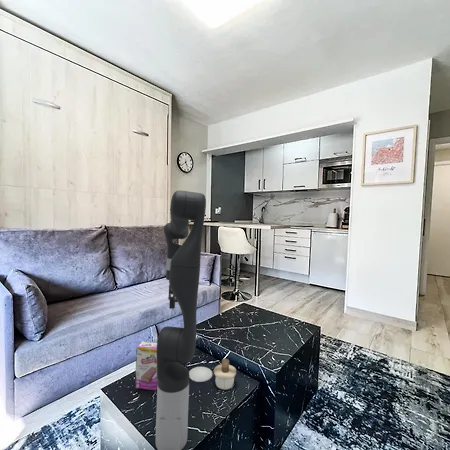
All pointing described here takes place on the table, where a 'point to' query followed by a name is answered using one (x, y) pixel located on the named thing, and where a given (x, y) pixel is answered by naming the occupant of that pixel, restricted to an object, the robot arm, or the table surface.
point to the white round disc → (200, 374)
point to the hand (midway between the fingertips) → (173, 305)
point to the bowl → (224, 383)
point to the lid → (225, 370)
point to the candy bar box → (146, 366)
